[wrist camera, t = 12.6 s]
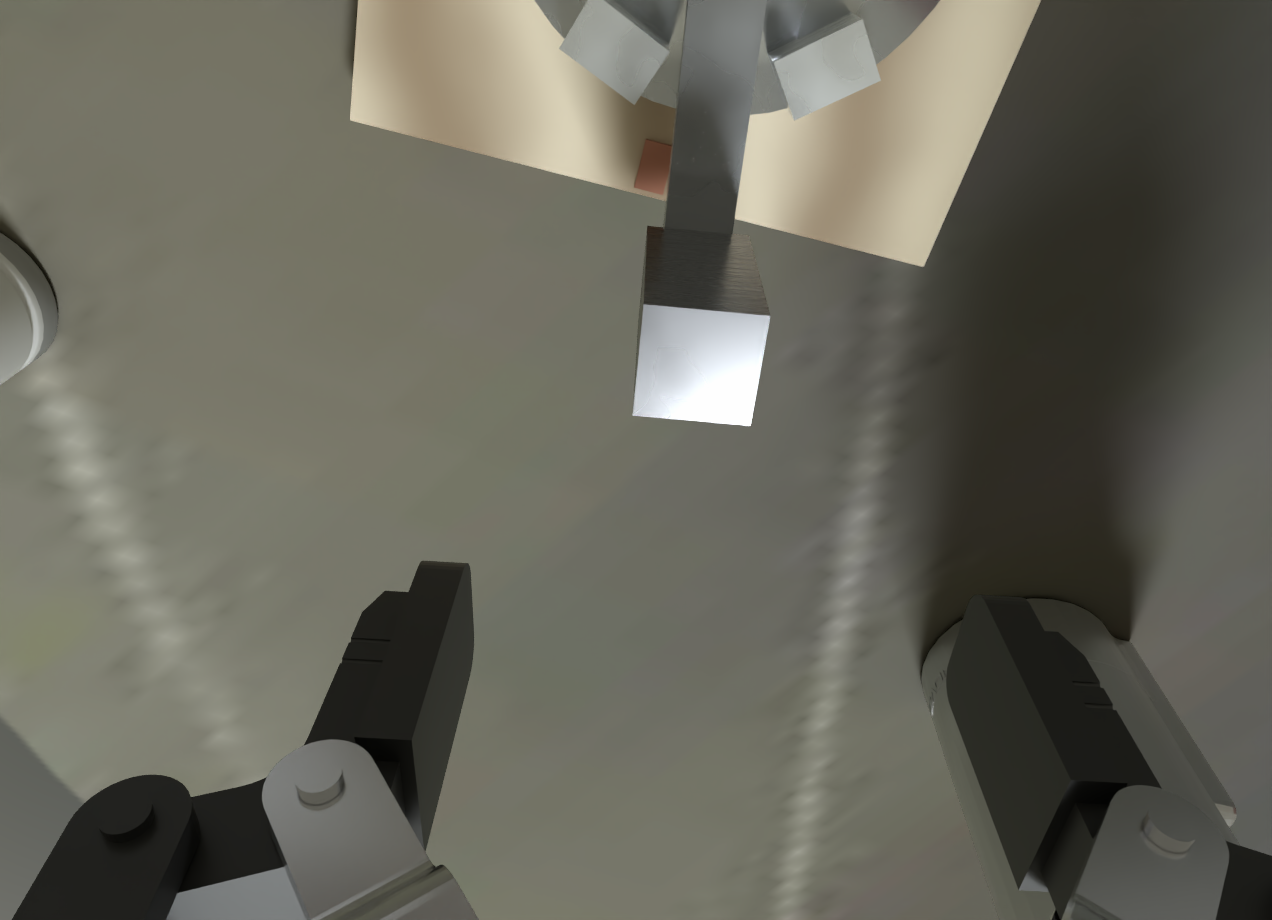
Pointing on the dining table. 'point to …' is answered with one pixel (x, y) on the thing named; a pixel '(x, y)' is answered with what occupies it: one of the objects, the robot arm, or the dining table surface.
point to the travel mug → (23, 310)
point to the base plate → (642, 133)
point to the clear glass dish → (719, 162)
